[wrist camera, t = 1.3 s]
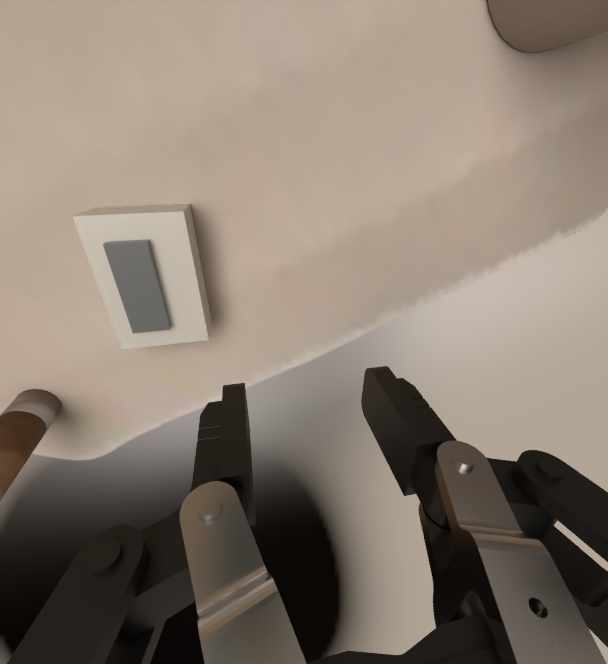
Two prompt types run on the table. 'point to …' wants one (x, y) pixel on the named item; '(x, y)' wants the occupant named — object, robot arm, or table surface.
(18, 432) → the brown cylinder
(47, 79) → the table surface
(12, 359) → the table surface
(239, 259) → the table surface
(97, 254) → the block
